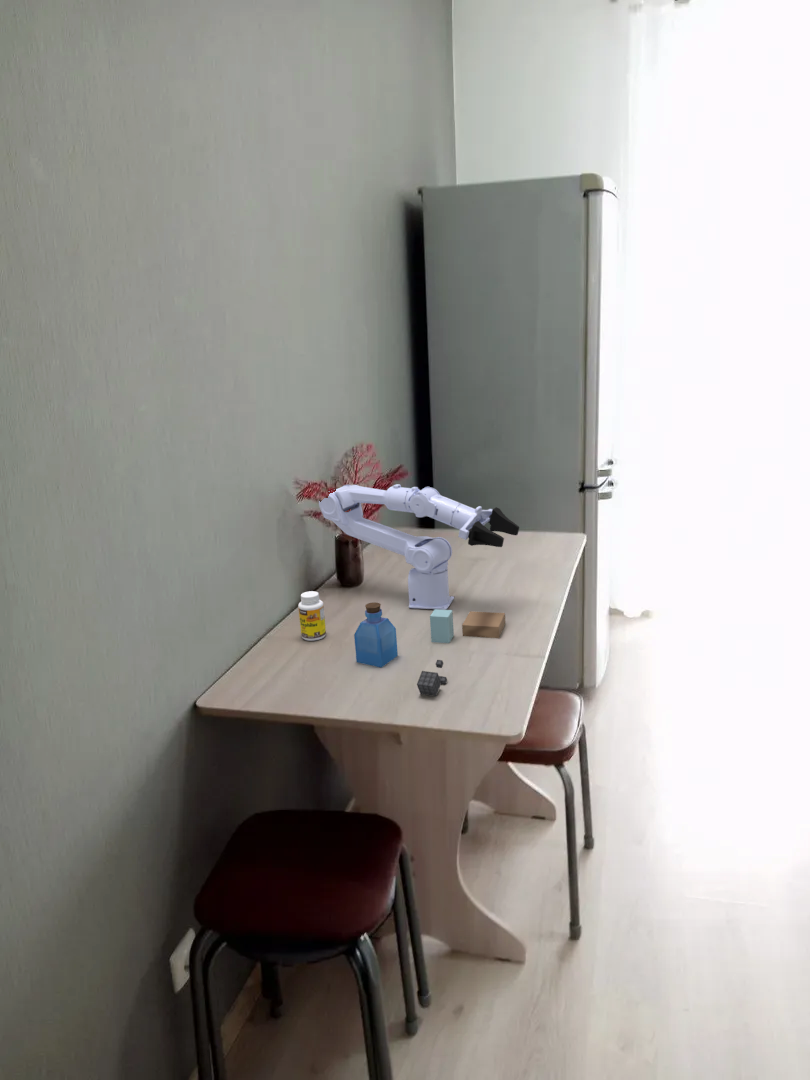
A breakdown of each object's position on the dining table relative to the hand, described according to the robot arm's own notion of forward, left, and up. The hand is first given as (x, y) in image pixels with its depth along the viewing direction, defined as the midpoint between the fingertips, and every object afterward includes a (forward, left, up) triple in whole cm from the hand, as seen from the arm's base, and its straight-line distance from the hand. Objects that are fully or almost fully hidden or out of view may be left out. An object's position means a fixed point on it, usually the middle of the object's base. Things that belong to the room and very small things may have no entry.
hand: (510, 536), depth 181 cm
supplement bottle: (-42, -17, -19) cm, 49 cm away
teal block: (-13, -14, -19) cm, 27 cm away
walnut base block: (-5, -8, -19) cm, 22 cm away
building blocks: (-9, -37, -19) cm, 43 cm away
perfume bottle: (-24, -26, -19) cm, 41 cm away
